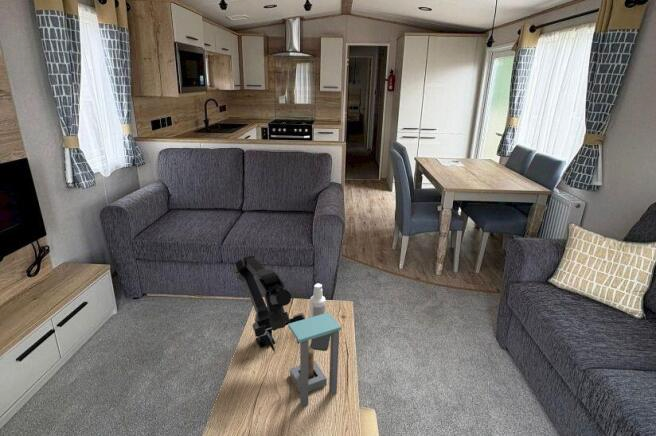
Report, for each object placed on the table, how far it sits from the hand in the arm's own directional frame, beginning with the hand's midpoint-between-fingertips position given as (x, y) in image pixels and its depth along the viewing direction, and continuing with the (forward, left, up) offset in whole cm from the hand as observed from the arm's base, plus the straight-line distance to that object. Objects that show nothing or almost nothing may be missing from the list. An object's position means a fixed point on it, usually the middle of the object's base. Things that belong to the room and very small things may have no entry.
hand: (286, 347), depth 140 cm
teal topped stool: (+14, +5, -9) cm, 18 cm away
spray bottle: (-22, +24, -10) cm, 34 cm away
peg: (+9, +5, -9) cm, 14 cm away
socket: (+9, +5, -9) cm, 14 cm away
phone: (-10, +20, -10) cm, 24 cm away
